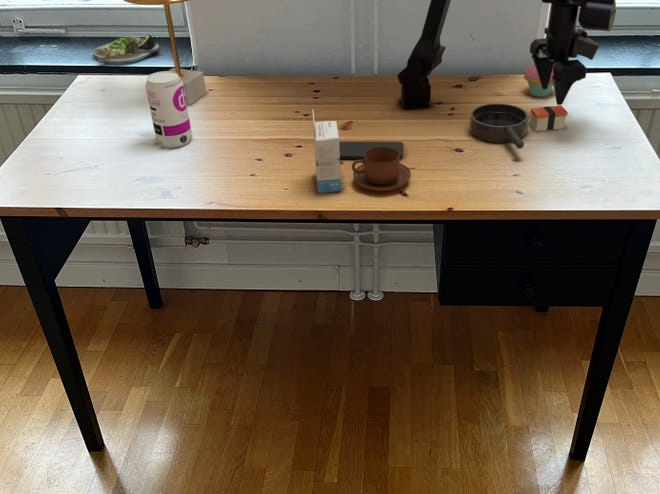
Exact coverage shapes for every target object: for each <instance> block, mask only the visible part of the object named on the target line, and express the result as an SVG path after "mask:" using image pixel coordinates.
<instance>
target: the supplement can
mask: <svg viewBox="0 0 660 494" xmlns="http://www.w3.org/2000/svg"><path fill="white" fill-rule="evenodd" d="M145 92H146V97H147V101H148V107H149V110H150V115H151V116H150V117H151V120H152V121H151V122H152V127H153V130H154V136H155V141H156V142H157V144H159V145H160V146H161V147H164V148H169V149H173V148H174V149H175V148H180V147H183V146H186V145H188V144H189V143H190V141H191V140H192V139H193V132H192V128H191V127H192V126H191V120H190V117H189V116H190V115H189V110H188V109H189V108H188V105H187V102H186V97H185V91H184V85H183V81H182V80H181V78H180V77H179V75H178V73H176V72H172V71H169V70H163V71H157V72H153V73H150V74H149V75H147V77H146V82H145Z"/></svg>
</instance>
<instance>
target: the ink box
mask: <svg viewBox="0 0 660 494" xmlns="http://www.w3.org/2000/svg"><path fill="white" fill-rule="evenodd" d="M311 110H312V111H311V114H312V125H313V126H312V128H313V129H312V131H313V146H314V163H315V175H316V183H317V192H318V193H319V194H322V193H324V194H325V193H334V192H335V193H337V192H341V191H342V177H341V159H340V152H339V142H340V136H339V129H338V124H337V121H336V120H327V121H316V122H315V120H316V119H315V113H314V111H315V110H314V108H312V109H311Z"/></svg>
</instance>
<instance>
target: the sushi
mask: <svg viewBox="0 0 660 494" xmlns="http://www.w3.org/2000/svg"><path fill="white" fill-rule="evenodd" d="M568 113H569V112H568V111H567V109H565V107H563V105H552V106H550V105H549V106H539V107H531V108H530V122H529V123H530V124H529V125H530V126H531V127H532V128H533V130H534V131H535V132H542V131H543V132H544V131H552V130H561V129H565V123H566V118H567V116H568Z"/></svg>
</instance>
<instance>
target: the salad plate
mask: <svg viewBox="0 0 660 494" xmlns="http://www.w3.org/2000/svg"><path fill="white" fill-rule="evenodd" d="M162 50H163V48H162V47H160V45H159V43H156V42H154V39H153V36H152V35H151V34H149V33H147V34H146V35H145V36H143V37H142V36H141V37H137V36H136V37H135V36H125V37H120V38H117V39H115V40H114V41H112V42H109V43H107V44H104V45H101V46H97V47H95V48H94V49H93V54H92V55H93V56H95V57H96V58H97V62H99V63H102V62H103V63H107V64H110V65H111V64H112V65H114V64H115V65H116V64H119V65H120V64H133V63H136V62H139V61H142V60H145V59H147V58H148V59H149V58H151V57H153V56H155V55H157V54H158V53H159V52H160V51H162Z"/></svg>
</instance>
